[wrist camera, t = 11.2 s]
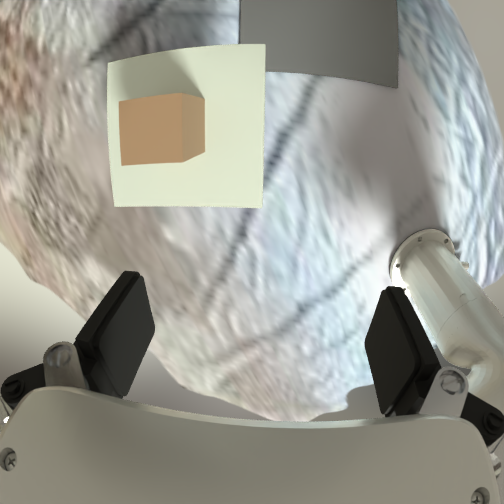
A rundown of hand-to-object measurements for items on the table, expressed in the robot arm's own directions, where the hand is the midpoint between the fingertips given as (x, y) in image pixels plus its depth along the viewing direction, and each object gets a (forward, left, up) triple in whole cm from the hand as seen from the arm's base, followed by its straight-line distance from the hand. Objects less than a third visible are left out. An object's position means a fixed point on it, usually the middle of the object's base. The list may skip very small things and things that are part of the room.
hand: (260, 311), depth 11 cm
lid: (+7, -5, -16) cm, 19 cm away
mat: (-7, -19, -28) cm, 35 cm away
